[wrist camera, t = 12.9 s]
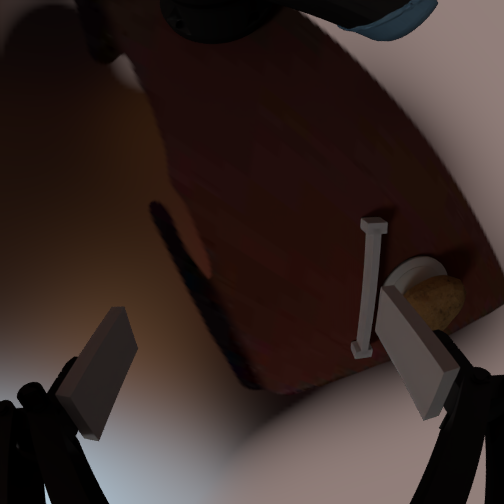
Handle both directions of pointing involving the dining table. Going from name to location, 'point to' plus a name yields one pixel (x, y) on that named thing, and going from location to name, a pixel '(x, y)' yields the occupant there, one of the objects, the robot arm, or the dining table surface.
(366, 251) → the rail
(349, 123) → the dining table surface
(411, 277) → the plate
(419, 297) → the potato
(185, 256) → the dining table surface
